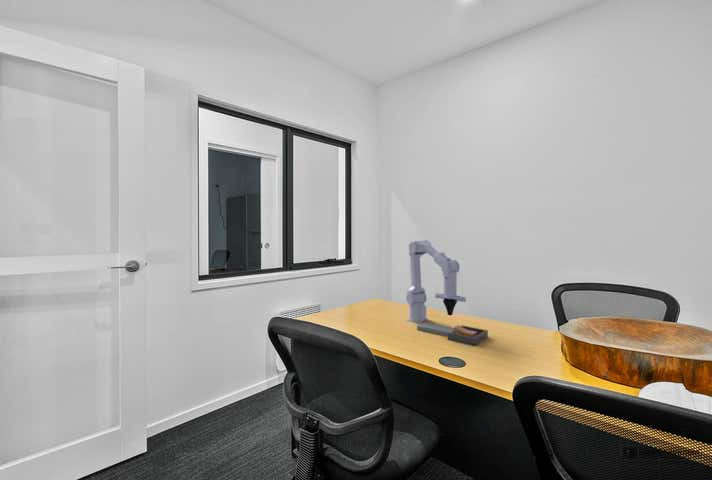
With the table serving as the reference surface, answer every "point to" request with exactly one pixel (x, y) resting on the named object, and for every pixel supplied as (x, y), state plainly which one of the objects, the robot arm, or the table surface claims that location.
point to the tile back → (459, 330)
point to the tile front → (470, 333)
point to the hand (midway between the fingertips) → (450, 314)
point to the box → (469, 340)
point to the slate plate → (435, 329)
